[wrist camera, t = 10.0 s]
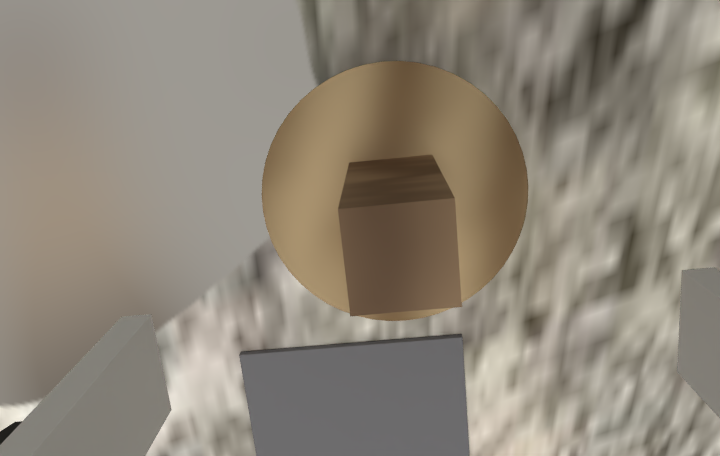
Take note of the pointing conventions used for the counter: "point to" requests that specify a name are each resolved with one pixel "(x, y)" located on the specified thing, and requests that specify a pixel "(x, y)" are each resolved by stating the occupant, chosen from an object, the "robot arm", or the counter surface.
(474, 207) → the lid
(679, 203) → the counter surface
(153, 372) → the robot arm
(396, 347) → the mat
